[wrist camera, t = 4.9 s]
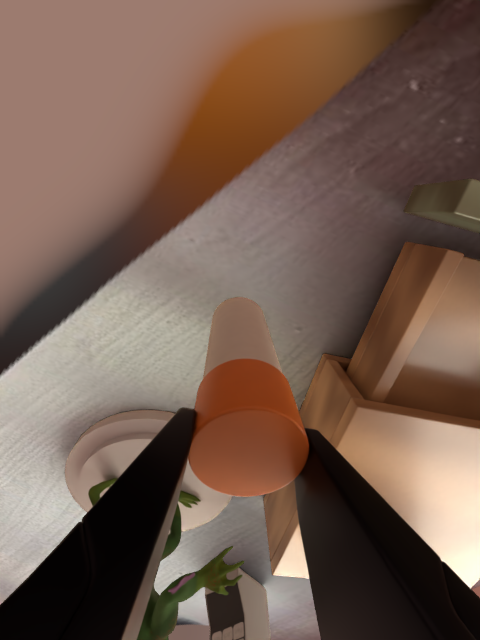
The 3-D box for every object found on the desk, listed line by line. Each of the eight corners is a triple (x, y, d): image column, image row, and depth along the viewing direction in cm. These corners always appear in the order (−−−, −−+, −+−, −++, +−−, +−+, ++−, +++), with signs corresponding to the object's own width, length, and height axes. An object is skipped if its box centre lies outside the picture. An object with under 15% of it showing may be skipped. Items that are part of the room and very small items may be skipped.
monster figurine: (142, 540, 23) (83, 769, 14) (34, 456, 19) (-157, 701, 10) (263, 487, 21) (290, 713, 12) (171, 381, 17) (100, 597, 8)
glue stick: (257, 350, 15) (288, 504, 7) (205, 340, 15) (177, 490, 7) (273, 301, 14) (328, 419, 6) (216, 288, 14) (199, 397, 6)
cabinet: (322, 352, 17) (357, 406, 12) (518, 392, 18) (611, 452, 14) (262, 499, 22) (271, 575, 17) (420, 519, 24) (466, 593, 19)
